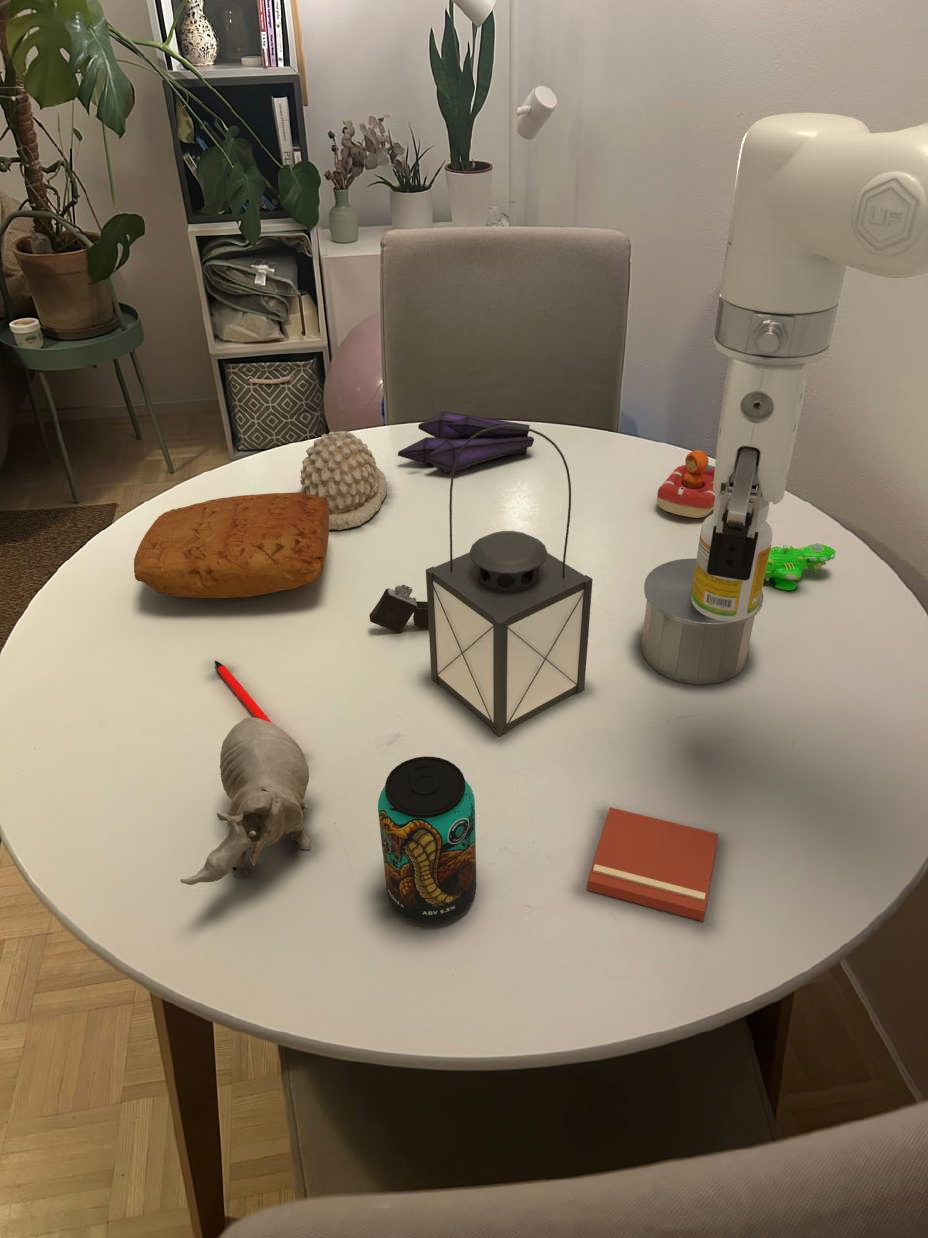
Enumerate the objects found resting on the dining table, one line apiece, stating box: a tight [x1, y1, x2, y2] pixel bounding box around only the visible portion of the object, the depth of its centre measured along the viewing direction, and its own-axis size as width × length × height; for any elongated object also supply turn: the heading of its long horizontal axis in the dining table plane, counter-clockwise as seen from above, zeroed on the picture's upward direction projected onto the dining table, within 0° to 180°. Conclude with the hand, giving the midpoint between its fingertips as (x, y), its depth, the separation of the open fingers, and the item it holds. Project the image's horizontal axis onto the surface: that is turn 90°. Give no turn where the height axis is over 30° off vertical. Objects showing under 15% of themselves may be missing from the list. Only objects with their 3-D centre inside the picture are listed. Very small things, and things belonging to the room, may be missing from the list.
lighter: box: [368, 584, 429, 634], centre depth 99 cm, size 8×2×5 cm
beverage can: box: [377, 755, 478, 924], centre depth 68 cm, size 7×7×12 cm
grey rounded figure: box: [179, 716, 312, 886], centre depth 74 cm, size 8×14×15 cm
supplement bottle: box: [691, 487, 774, 621], centre depth 72 cm, size 5×5×10 cm
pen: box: [214, 660, 273, 723], centre depth 89 cm, size 1×19×1 cm, turn 36°
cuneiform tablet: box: [133, 491, 330, 599], centre depth 107 cm, size 22×17×8 cm
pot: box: [641, 599, 756, 686], centre depth 93 cm, size 11×11×8 cm
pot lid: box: [643, 558, 764, 628], centre depth 90 cm, size 12×12×5 cm
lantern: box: [425, 425, 594, 737], centre depth 84 cm, size 11×11×28 cm
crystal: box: [397, 411, 535, 475], centre depth 132 cm, size 7×12×20 cm
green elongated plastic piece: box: [764, 543, 836, 591], centre depth 105 cm, size 7×18×4 cm, turn 99°
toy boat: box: [656, 449, 716, 519], centre depth 119 cm, size 8×12×8 cm, turn 150°
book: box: [586, 807, 719, 922], centre depth 73 cm, size 9×8×2 cm
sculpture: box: [299, 430, 388, 531], centre depth 121 cm, size 12×17×10 cm
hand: (733, 553), depth 72 cm, fingers closed on supplement bottle, 5 cm apart
